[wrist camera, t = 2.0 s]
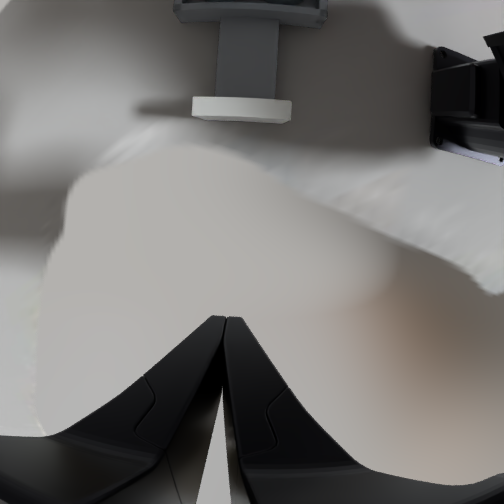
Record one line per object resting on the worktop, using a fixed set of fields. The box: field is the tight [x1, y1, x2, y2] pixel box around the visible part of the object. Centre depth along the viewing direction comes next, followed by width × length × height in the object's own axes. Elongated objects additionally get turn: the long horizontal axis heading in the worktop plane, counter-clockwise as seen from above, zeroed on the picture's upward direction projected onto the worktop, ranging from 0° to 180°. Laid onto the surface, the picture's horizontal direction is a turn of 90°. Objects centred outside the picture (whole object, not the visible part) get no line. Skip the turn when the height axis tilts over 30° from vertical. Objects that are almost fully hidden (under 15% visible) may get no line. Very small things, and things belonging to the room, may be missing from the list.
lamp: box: [173, 0, 328, 124], centre depth 12 cm, size 8×10×4 cm
